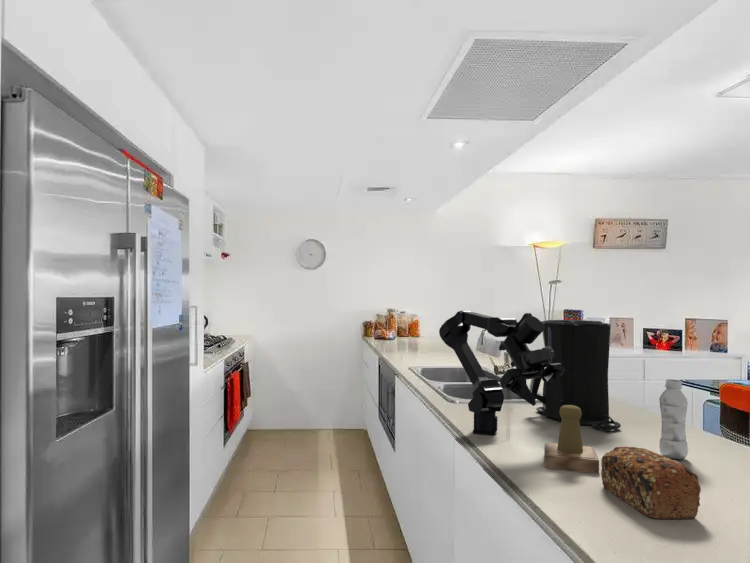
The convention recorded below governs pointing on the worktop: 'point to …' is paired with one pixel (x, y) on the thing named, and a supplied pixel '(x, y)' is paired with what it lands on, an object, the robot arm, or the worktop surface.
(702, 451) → the worktop surface
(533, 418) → the worktop surface
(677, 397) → the plastic bottle
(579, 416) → the cork
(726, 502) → the worktop surface
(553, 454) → the plate
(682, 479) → the bread
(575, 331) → the coffee maker
